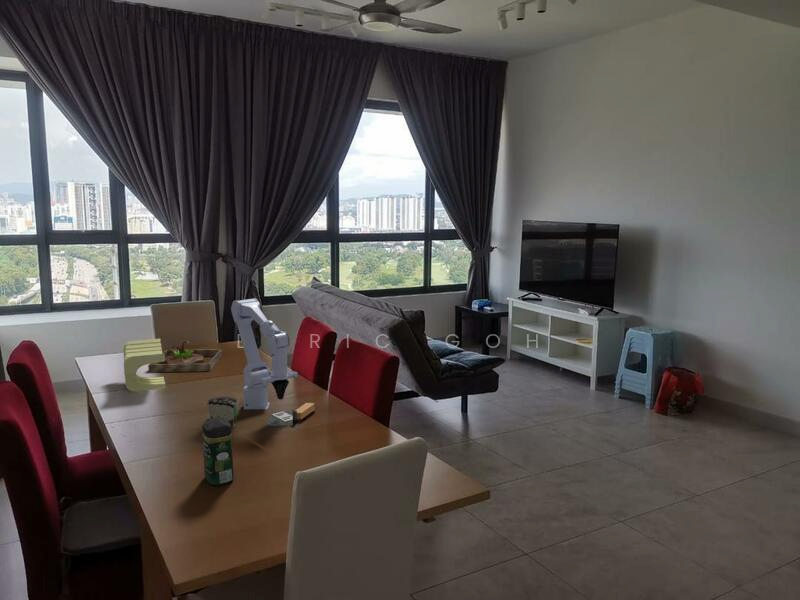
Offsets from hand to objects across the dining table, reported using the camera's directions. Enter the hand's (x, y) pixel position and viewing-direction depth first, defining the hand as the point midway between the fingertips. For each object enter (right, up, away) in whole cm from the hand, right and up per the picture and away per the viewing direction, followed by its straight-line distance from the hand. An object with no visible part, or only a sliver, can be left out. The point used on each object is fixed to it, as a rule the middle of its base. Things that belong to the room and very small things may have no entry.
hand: (280, 398), depth 236 cm
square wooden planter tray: (-62, +6, +75) cm, 97 cm away
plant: (-64, +6, +78) cm, 101 cm away
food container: (-18, -9, -7) cm, 22 cm away
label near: (+3, -7, -3) cm, 8 cm away
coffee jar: (-9, -16, -51) cm, 54 cm away
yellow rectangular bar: (+9, -6, +1) cm, 11 cm away
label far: (0, -7, +1) cm, 7 cm away
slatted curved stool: (-67, -1, +38) cm, 78 cm away
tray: (+2, -8, -2) cm, 8 cm away
